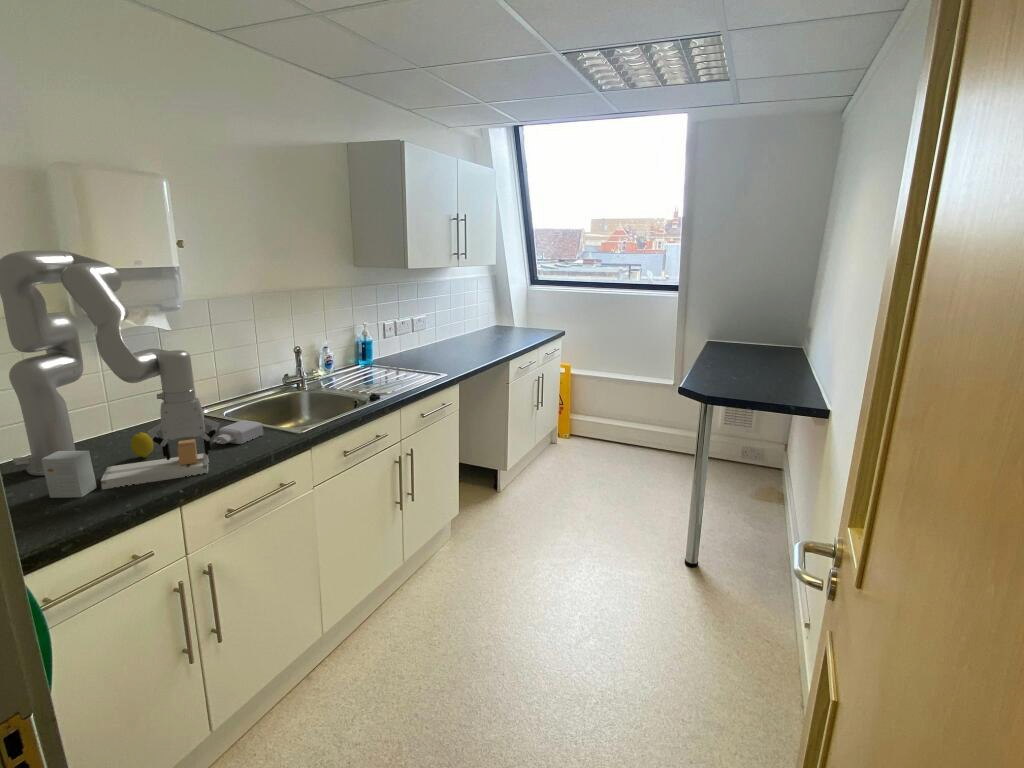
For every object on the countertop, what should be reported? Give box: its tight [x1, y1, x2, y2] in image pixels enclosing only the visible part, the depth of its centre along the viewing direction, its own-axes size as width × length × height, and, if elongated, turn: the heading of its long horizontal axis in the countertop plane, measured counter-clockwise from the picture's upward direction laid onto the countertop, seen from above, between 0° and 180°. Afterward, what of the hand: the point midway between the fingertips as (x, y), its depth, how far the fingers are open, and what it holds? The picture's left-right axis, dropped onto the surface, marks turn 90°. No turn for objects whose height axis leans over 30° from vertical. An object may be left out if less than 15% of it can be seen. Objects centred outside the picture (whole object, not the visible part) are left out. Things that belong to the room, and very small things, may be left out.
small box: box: [41, 450, 98, 499], centre depth 139 cm, size 8×6×10 cm
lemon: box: [130, 431, 154, 458], centre depth 162 cm, size 6×6×8 cm
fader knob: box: [176, 438, 198, 465], centre depth 154 cm, size 4×6×6 cm, turn 27°
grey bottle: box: [211, 419, 264, 445], centre depth 177 cm, size 5×9×15 cm
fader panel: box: [100, 452, 210, 490], centre depth 152 cm, size 24×10×3 cm, turn 117°
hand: (188, 455), depth 154 cm, fingers open, 9 cm apart
